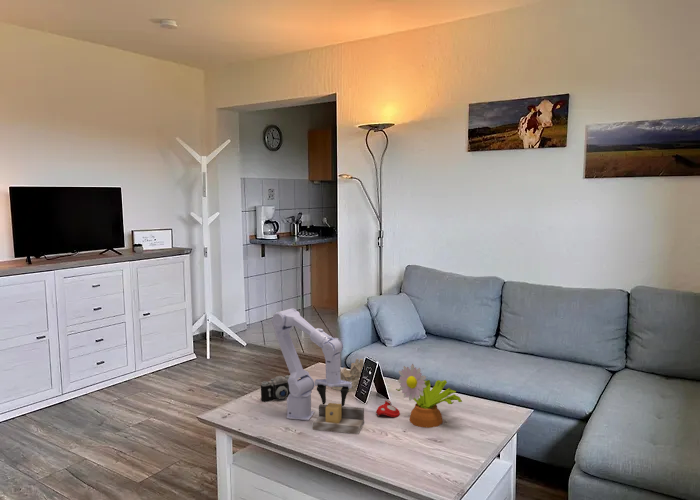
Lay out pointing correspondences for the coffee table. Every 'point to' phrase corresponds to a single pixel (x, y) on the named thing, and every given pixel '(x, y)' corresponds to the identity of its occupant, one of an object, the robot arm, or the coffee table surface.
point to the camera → (275, 389)
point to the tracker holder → (388, 410)
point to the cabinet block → (333, 413)
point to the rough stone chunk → (352, 375)
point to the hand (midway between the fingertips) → (333, 404)
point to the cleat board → (348, 423)
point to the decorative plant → (424, 397)
